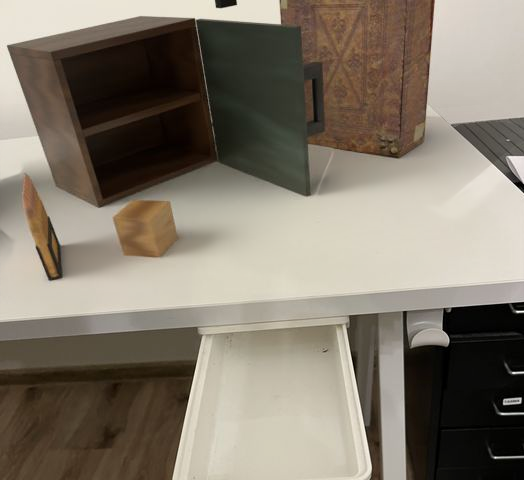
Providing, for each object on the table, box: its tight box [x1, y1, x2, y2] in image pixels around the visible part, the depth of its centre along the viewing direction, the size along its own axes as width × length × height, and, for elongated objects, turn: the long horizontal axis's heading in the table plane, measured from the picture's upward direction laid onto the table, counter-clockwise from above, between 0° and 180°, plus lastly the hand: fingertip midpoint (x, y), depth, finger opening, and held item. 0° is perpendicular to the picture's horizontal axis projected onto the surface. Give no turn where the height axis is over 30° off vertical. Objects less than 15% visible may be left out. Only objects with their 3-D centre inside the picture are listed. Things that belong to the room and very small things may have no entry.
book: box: [278, 0, 436, 159], centre depth 99 cm, size 25×9×30 cm, turn 49°
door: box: [195, 18, 325, 197], centre depth 92 cm, size 7×26×24 cm, turn 37°
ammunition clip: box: [21, 173, 63, 281], centre depth 77 cm, size 11×2×12 cm, turn 18°
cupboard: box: [6, 15, 218, 209], centre depth 100 cm, size 18×26×24 cm
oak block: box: [112, 199, 179, 259], centre depth 79 cm, size 6×6×6 cm
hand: (226, 6), depth 78 cm, fingers closed
